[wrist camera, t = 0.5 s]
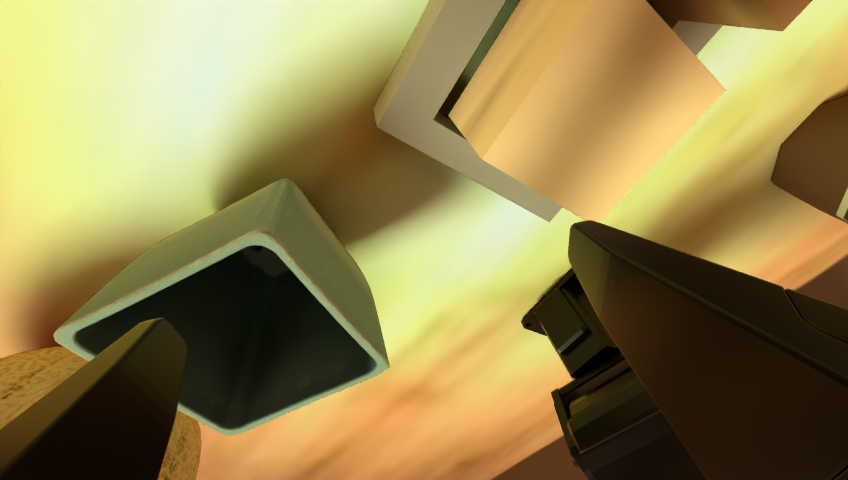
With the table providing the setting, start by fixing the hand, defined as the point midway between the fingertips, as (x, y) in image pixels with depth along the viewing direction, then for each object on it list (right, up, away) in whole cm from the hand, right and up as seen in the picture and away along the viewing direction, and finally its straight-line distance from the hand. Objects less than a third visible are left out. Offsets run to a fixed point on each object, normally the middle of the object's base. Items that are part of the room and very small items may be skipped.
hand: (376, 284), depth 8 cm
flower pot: (-7, +2, +13) cm, 16 cm away
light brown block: (+6, +8, +8) cm, 13 cm away
